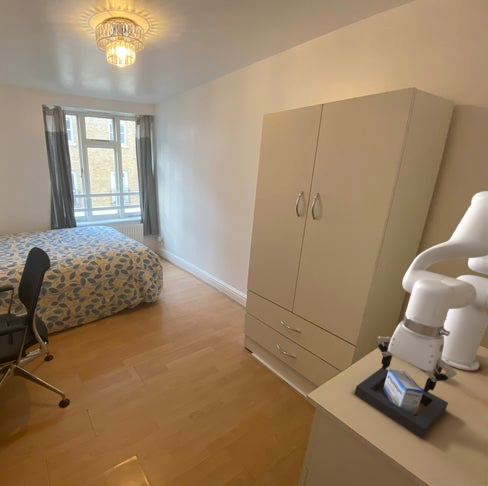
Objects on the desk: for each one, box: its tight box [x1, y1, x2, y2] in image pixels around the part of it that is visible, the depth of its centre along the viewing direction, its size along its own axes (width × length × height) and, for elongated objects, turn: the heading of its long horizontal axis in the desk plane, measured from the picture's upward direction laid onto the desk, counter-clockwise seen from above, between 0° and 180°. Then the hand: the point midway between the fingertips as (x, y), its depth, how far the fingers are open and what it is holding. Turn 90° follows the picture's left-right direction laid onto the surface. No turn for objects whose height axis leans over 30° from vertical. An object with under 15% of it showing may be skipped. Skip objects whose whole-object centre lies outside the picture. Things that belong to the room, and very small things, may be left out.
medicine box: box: [382, 368, 423, 416], centre depth 79 cm, size 8×4×9 cm, turn 171°
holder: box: [354, 367, 449, 439], centre depth 80 cm, size 16×16×3 cm
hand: (405, 378), depth 78 cm, fingers open, 9 cm apart
